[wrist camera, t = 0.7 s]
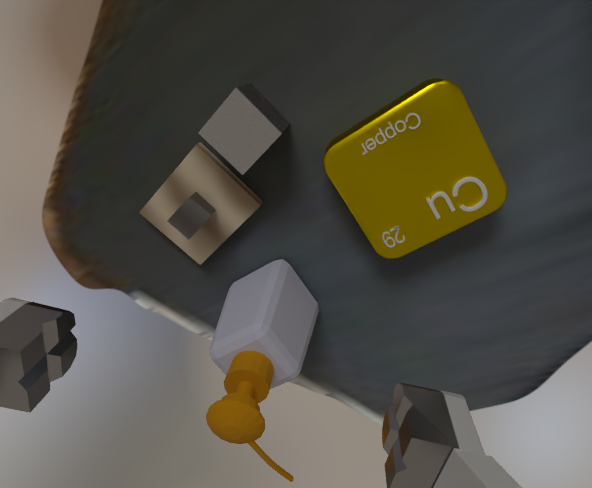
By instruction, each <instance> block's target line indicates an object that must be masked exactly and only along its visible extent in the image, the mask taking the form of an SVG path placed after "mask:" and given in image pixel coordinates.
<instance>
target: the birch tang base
mask: <svg viewBox="0 0 592 488" xmlns="http://www.w3.org/2000/svg"><path fill="white" fill-rule="evenodd" d="M262 203H263V201H262V200H261V199H260V198H259V197H258V196H257V195H256V194H255V193H254V192H253V191H252V190H251V189H249V188H248V187H247V186H246V185H245V184H244V183H243V182H242V181H241V180H240V179H239V178H238V177H237V176H236V175H235V174H234V173H233V172H231V171H230V170H229V169H228V168H227V167H226V166H225V165H224V164H223V163H222V162H221V161H220V160H219V159H218V158H217V157H216V156H215V155H214V154H212V153H211V152H210V151H209V150H208V149H207V148H206V147H205V146H204V145H203V144H202V143H201V142H200V143H199V144H197V145H196V146H195V147H194V148H193V149H192V150H191V152H190V153H189V154H188V155H187V156H186V158H185V159H184V160H183V161H182V162H181V164H180V165H179V166H178V167H177V168H176V169H175V171H174V172H173V173H172V174H171V175H170V177H169V178H168V179H167V180H166V181H165V183H164V184H163V185H162V186H161V187H160V188H159V190H158V191H157V192H156V193H155V194H154V196H153V197H152V198H151V199H150V200H149V202H148V203H147V204H146V205H145V206H144V207H143V209H142V210H141V211H140V212H139V213H140V214H141V215H142V216H144V217H145V218H146V219H147V220H148V221H149V222H151V223H152V224H153V225H154V226H155V227H156V228H158V229H159V230H160V231H161V232H162V233H163V234H165V235H166V236H167V237H168V238H169V239H170V240H172V241H173V242H174V243H175V244H176V245H177V246H179V247H180V248H181V249H182V250H183V251H184V252H186V253H187V254H188V255H189V256H190V257H191V258H193V259H194V260H195V261H196V262H197V263H198V264H200V265H201V264H202V263H203V262H204V261H205V260H206V259H207V258H208V257H209V256H210V255H211V254H212V253H213V252H214V251H215V250H216V249H217V248H218V247H219V246H220V245H221V244H222V243H223V242H224V241H225V240H226V239H227V238H228V237H229V236H230V235H231V234H232V233H233V232H234V231H235V230H236V229H237V228H239V227H240V226H241V225H242V224H243V223H244V222H245V221H246V220H247V219H248V218H249V217H250V216H251V215H252V214H253V213H254V212H255V211H256V210H257V209H258V208H259V207H260V206H261V204H262Z"/></svg>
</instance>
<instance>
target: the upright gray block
mask: <svg viewBox="0 0 592 488" xmlns="http://www.w3.org/2000/svg"><path fill="white" fill-rule="evenodd" d="M289 125H290V123H289V122H288V121H287V120H286V119H285V118H284V117H283V116H282V115H281V114H280V113H279V112H278V111H277V110H276V109H275V108H274V107H273V106H272V105H271V104H270V103H269V102H268V101H267V100H266V98H265V97H264V96H263V95H262V94H261V93H260V92H259V91H258V90H257V89H256V88H255V87H254V86H253V85H252V84H251V83H249V84H246V85H243V86H239V87H236V88H235V89H234V91H233V92H232V93H231V94H230V95H229V97H228V98H227V99H226V100H225V101H224V103H223V104H222V105H221V106H220V107H219V109H218V110H217V111H216V112H215V113H214V115H213V116H212V117H211V118H210V119H209V121H208V122H207V123H206V124H205V125H204V127H203V128H202V129H201V130H200V132H199V134H200V135H201V136H202V137H203V138H204V139H205V140H206V141H207V142H208V143H209V144H210V145H211V146H212V147H214V148H215V149H216V150H217V151H218V152H219V153H220V154H221V155H222V156H223V157H224V158H225V159H226V160H227V161H228V162H229V163H230V164H231V165H232V166H234V167H235V168H236V169H237V170H238V171H239V172H240V173H241V174H242V175H243V174H244V173H245V172H246V171H247V170H248V169H249V168H250V167H251V166H252V165H253V164H254V163H255V162H256V161H257V159H258V158H259V157H260V156H261V155H262V154H263V153H264V152H265V151H266V150H267V149H268V148H269V147H270V146H271V145H272V144H273V143H274V142H275V140H276V139H277V138H278V137H279V136H280V135H281V134H282V133H283V132H284V131H285V130H286V128H287V127H288V126H289Z"/></svg>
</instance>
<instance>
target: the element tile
mask: <svg viewBox="0 0 592 488" xmlns="http://www.w3.org/2000/svg"><path fill="white" fill-rule="evenodd" d="M323 164H324V169H325V171H326V173H327V175H328V177H329V178H330V180H331V181H332V183H333V184H334V186H335V188H336V189H337V191H338V192H339V194H340V195H341V197H342V199H343V200H344V202H345V203H346V205H347V207H348V208H349V210H350V211H351V213H352V214H353V216H354V218H355V219H356V221H357V222H358V224H359V225H360V227H361V229H362V230H363V232H364V233H365V235H366V236H367V238H368V240H369V241H370V243H371V244H372V246H373V248H374V249H375V251H376V252H377V253H378V254H379V255H381V256H382V257H384V258H388V259H395V258H399V257H402V256H404V255H406V254H408V253H410V252H412V251H414V250H416V249H418V248H420V247H422V246H424V245H427V244H429V243H431V242H433V241H435V240H437V239H439V238H441V237H443V236H445V235H447V234H449V233H451V232H453V231H455V230H457V229H459V228H461V227H463V226H465V225H467V224H470V223H472V222H474V221H476V220H478V219H480V218H482V217H484V216H486V215H488V214H490V213H492V212H494V211H495V210H497V209H498V208H500V207H501V206H502V205H503V204H504V202H505V200H506V198H507V186H506V184H505V182H504V180H503V177H502V175H501V173H500V171H499V169H498V167H497V165H496V163H495V161H494V159H493V156H492V154H491V152H490V150H489V148H488V146H487V144H486V142H485V140H484V138H483V136H482V133H481V131H480V129H479V127H478V125H477V123H476V121H475V119H474V117H473V115H472V112H471V110H470V108H469V106H468V104H467V102H466V100H465V98H464V96H463V94H462V91H461V90H460V89H459V87H458V86H457V85H455V84H454V83H453V82H451V81H448V80H444V79H440V78H434V79H429V80H427V81H425V82H422V83H421V84H419V85H418V86H416V87H415V88H413V89H411V90H410V91H408V92H407V93H405V94H404V95H402V96H400V97H399V98H397V99H396V100H394V101H393V102H391V103H389V104H388V105H386V106H385V107H383V108H382V109H380V110H378V111H377V112H375V113H374V114H372V115H371V116H369V117H367V118H366V119H364V120H363V121H361V122H359V123H358V124H356V125H355V126H353V127H352V128H350V129H348V130H347V131H345V132H344V133H342V134H341V135H339V136H337V137H336V138H334V139H333V140H332V141H331V142H330V143H329V145H328V146H327V148H326V151H325V155H324V160H323Z"/></svg>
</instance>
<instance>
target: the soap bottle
mask: <svg viewBox="0 0 592 488" xmlns="http://www.w3.org/2000/svg"><path fill="white" fill-rule="evenodd" d="M318 312H319V308H318V303H317V302H316V300H315V299H314V298H313V296H312V295H311V293H310V292H309V291H308V289H307V288H306V286H305V285H304V284H303V282H302V281H301V280H300V278H299V277H298V275H297V274H296V273H295V271H294V270H293V268H292V267H291V266H290V264H289V263H287V262H286V261H285V260H283V259H281V260H275V261H273V262H271V263H269V264H267V265H265V266H263V267H262V268H260V269H258V270H256V271H254V272H252V273H251V274H249V275H247V276H245V277H243V278H241V279H240V280H238V281H236V282H234V283H233V284H232V286H231V287H230V288H229V291H228V294H227V297H226V300H225V303H224V306H223V309H222V313H221V316H220V319H219V322H218V325H217V328H216V331H215V334H214V337H213V340H212V343H211V346H210V356H211V358H212V360H213V361H214V362H215V363H216V364H217V366H218V367H219V368H220V369H221V370H222V371H223V372H224V373H225V375H226V378H225V380H224V386H225V389H226V391H227V393H228V394H227V395H226V396H224V397H223V398H222V400H219V401H217V402H215V403H214V404H213V405H211V406H210V408H209V410H208V412H207V414H206V419H207V424H208V425H209V427H210V429H211V430H212V432H213V433H214V434H216V435H217V436H218V437H220V438H221V439H223V440H225V441H227V442H230V443H237V444H243V443H248V444H249V445H250V446H251V447H252V448H253V449H254V450H255V451H256V452H257V453H258V454H259V455H260V457H261V458H262V459H263V460H265V462H266V463H267V464H268V465H269V466H271V467H272V468H273V469H274V470H276V471H277V472H278V473H280V474H281V475H283V476H284V477H285V478H286V479H288V480H289V481H291V482H292V481H293V476H292V475H290V474H289V473H288V472H286V471H285V470H284V469H282V468H281V467H280V466H278V465H277V464H276V463H275V462H274V461H272V460H271V459H270V458H269V457H268V456H267V455H266V454H265V453H264V451H262V449H260V447H259V446H258V445H257V444H256V443H255V442H254V441H255V440H256V439H258V438H260V437H261V435H262V433H263V432H264V430H265V420H264V418H263V416H262V415H261V413H260V408H259V406H258V404H257V403H260V402H261V401H263V400H264V399H266V397H267V395H268V393H269V389H271V388H273V387H276V386H278V385H281V384H283V383H285V382H288V381H290V380H293V379H294V378H295V377H296V376H297V375H298V374H299V373H300V371H301V368H302V365H303V361H304V358H305V355H306V351H307V348H308V345H309V342H310V338H311V335H312V332H313V328H314V325H315V322H316V318H317V315H318Z"/></svg>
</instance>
